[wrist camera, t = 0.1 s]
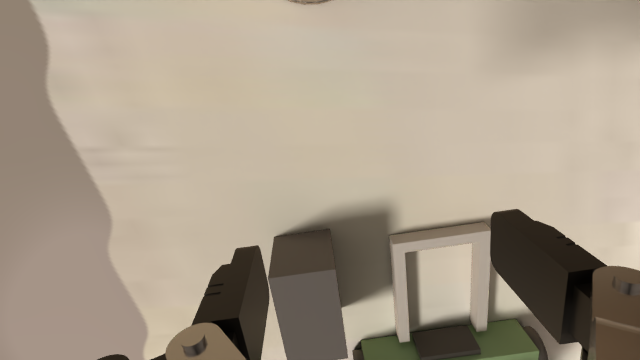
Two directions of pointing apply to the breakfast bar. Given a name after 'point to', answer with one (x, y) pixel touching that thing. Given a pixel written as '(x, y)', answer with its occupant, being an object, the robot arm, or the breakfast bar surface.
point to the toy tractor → (462, 341)
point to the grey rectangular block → (307, 296)
